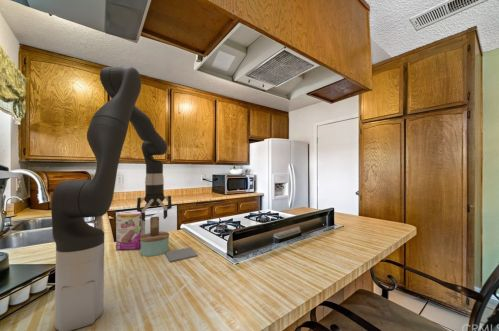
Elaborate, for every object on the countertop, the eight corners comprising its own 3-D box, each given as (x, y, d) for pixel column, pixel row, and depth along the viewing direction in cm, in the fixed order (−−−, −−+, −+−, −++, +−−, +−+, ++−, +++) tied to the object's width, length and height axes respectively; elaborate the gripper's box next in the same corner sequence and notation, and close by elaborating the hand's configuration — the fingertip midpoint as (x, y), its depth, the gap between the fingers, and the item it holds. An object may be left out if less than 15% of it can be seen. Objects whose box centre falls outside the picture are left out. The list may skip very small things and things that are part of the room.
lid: (171, 238, 93) (171, 218, 93) (140, 243, 86) (140, 221, 87) (166, 232, 103) (166, 213, 103) (138, 236, 97) (138, 216, 97)
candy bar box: (115, 250, 96) (115, 214, 96) (121, 246, 101) (121, 212, 101) (140, 250, 96) (140, 213, 97) (145, 246, 101) (145, 211, 102)
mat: (197, 256, 88) (197, 254, 88) (169, 262, 82) (169, 260, 82) (190, 248, 97) (190, 247, 97) (165, 253, 91) (165, 252, 91)
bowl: (169, 252, 92) (169, 238, 93) (141, 258, 87) (141, 243, 87) (165, 245, 102) (165, 232, 102) (139, 249, 96) (140, 236, 96)
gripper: (137, 184, 88) (137, 223, 88) (172, 183, 96) (172, 219, 95) (136, 183, 95) (136, 220, 94) (169, 182, 102) (169, 216, 102)
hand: (154, 219), depth 95 cm, fingers open, 8 cm apart
